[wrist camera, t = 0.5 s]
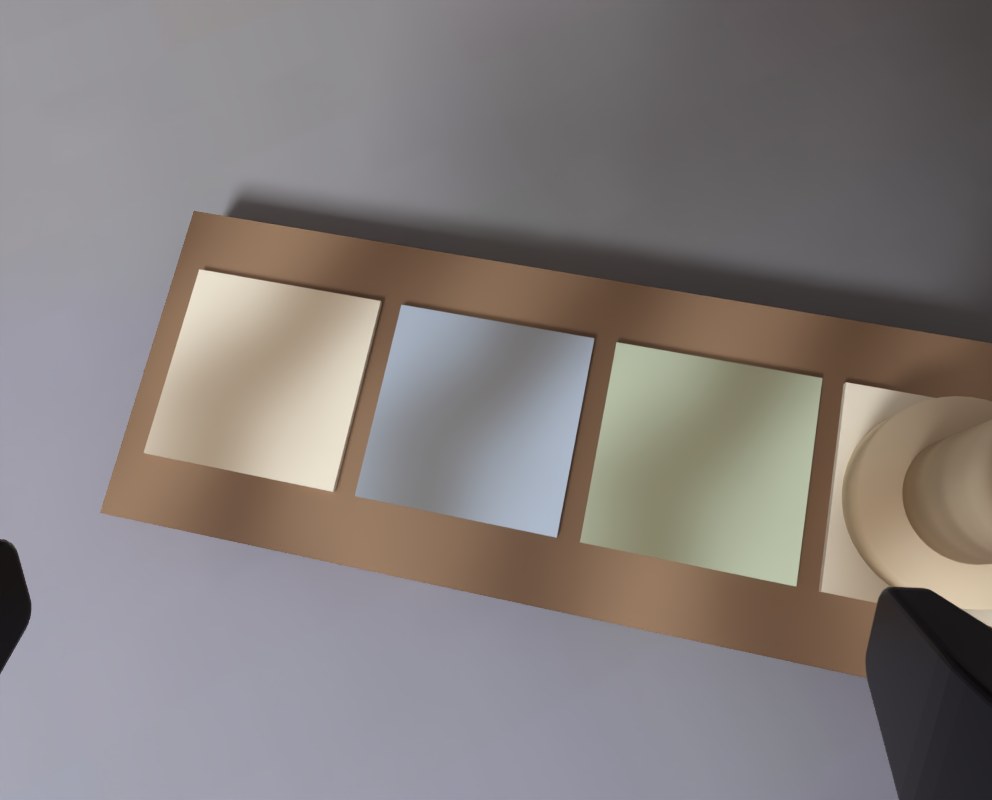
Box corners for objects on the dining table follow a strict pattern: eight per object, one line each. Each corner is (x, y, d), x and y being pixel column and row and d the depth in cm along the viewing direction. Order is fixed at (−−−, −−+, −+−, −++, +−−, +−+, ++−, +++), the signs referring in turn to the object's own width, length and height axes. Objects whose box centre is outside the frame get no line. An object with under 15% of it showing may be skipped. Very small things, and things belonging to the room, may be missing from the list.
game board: (1063, 376, 22) (1103, 358, 21) (1043, 714, 21) (1085, 725, 19) (215, 232, 25) (190, 207, 24) (128, 517, 24) (95, 512, 22)
